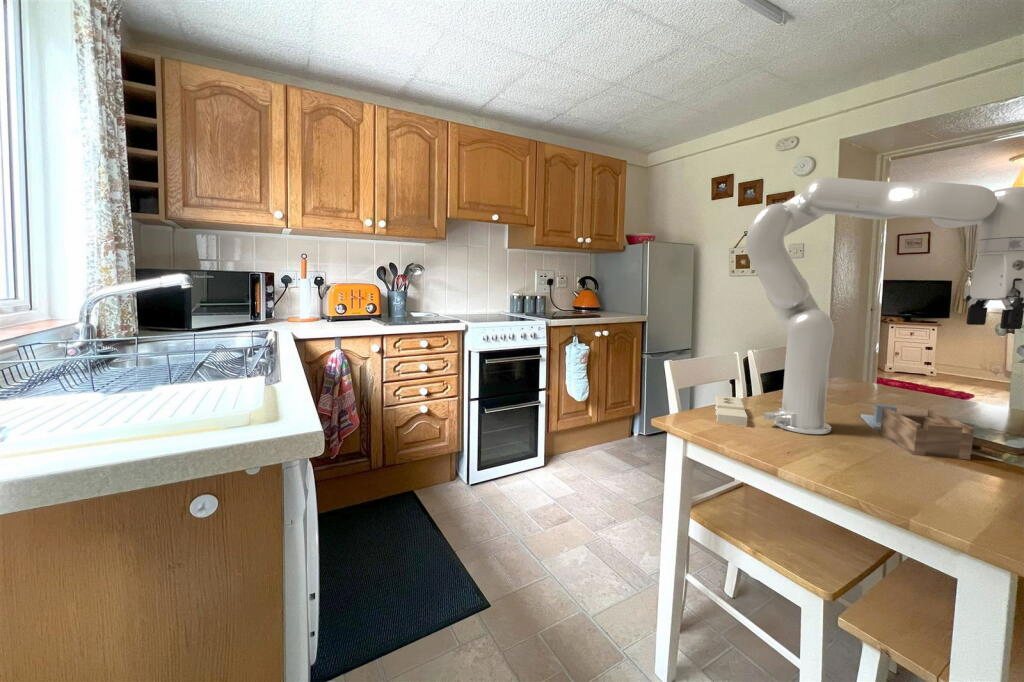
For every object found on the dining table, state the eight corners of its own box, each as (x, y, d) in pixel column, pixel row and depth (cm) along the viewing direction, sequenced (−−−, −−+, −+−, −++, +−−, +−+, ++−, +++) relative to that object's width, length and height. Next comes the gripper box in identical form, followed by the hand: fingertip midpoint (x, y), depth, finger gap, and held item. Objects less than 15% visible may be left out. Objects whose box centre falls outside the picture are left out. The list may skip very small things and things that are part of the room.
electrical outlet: (717, 410, 117) (715, 395, 133) (717, 425, 117) (714, 408, 134) (747, 413, 114) (741, 397, 130) (746, 428, 115) (740, 410, 131)
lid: (909, 435, 109) (911, 413, 108) (873, 430, 112) (875, 409, 111) (892, 421, 120) (895, 401, 119) (860, 418, 123) (862, 398, 122)
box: (970, 459, 92) (974, 428, 91) (913, 454, 95) (917, 424, 94) (928, 437, 106) (931, 410, 105) (879, 433, 108) (882, 407, 108)
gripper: (1063, 243, 83) (1050, 331, 85) (993, 250, 99) (983, 323, 102) (1014, 244, 85) (1002, 330, 87) (953, 251, 102) (944, 323, 104)
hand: (992, 326), depth 94 cm, fingers open, 9 cm apart
